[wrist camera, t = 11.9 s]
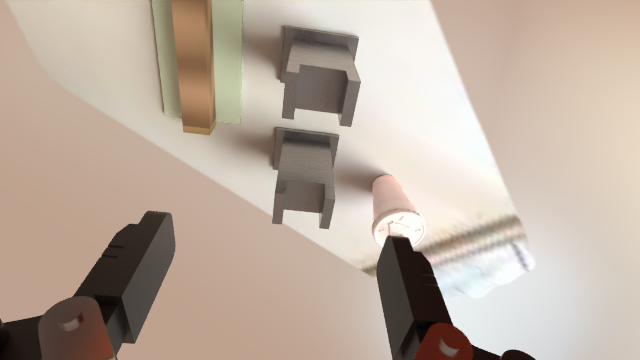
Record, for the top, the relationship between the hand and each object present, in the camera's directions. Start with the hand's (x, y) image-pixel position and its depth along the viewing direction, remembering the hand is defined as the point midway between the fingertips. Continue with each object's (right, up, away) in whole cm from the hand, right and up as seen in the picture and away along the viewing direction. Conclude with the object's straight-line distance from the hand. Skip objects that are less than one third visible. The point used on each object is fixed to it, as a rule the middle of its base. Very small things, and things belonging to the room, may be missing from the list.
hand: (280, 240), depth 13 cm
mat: (-12, +17, +25) cm, 32 cm away
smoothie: (+11, +2, +36) cm, 37 cm away
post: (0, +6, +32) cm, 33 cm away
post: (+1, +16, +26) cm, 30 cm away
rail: (-12, +16, +24) cm, 32 cm away
